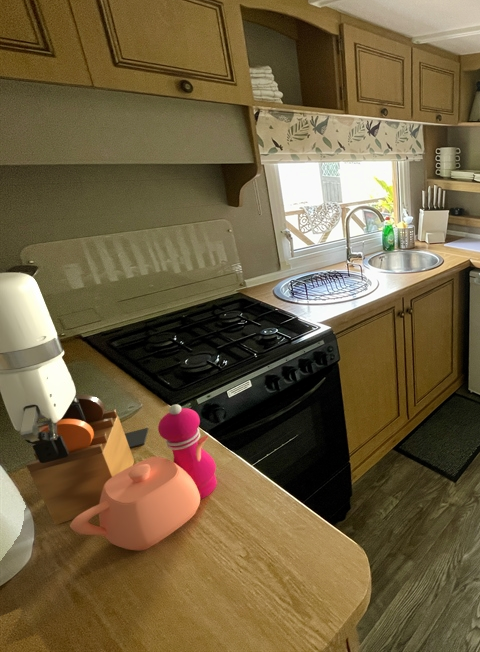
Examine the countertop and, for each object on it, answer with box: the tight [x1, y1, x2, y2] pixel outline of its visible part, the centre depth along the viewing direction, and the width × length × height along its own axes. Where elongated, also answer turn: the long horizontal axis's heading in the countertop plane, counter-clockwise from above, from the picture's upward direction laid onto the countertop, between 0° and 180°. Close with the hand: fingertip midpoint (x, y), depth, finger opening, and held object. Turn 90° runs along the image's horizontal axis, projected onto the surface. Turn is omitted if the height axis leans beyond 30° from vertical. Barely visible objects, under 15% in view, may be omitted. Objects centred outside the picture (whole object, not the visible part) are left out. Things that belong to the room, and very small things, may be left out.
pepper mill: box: [157, 403, 218, 501], centre depth 69 cm, size 7×7×20 cm
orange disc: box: [39, 419, 94, 452], centre depth 63 cm, size 7×2×7 cm, turn 122°
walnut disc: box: [75, 394, 106, 423], centre depth 70 cm, size 7×2×7 cm, turn 122°
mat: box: [124, 427, 149, 449], centre depth 84 cm, size 6×6×1 cm
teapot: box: [70, 434, 209, 552], centre depth 65 cm, size 13×20×12 cm, turn 152°
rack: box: [26, 408, 135, 526], centre depth 70 cm, size 9×12×14 cm
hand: (65, 440), depth 63 cm, fingers open, 9 cm apart
